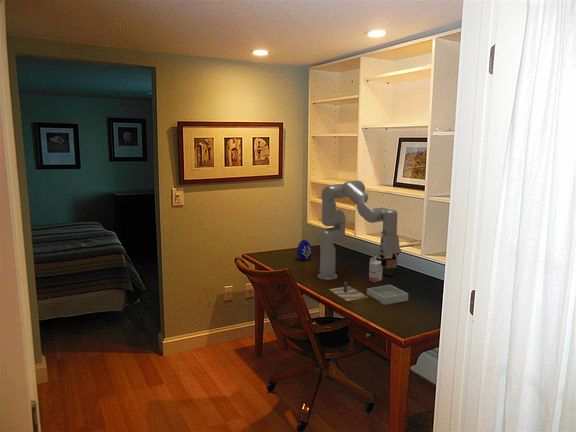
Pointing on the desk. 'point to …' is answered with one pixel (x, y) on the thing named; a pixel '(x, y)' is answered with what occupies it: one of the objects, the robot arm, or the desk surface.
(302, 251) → the ornament
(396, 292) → the tray
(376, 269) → the ink cartridge box
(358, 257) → the desk surface
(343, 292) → the stake board
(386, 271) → the character mug
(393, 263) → the tabbed ring
